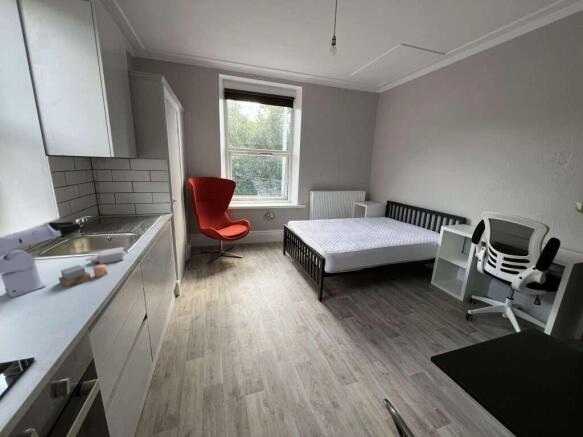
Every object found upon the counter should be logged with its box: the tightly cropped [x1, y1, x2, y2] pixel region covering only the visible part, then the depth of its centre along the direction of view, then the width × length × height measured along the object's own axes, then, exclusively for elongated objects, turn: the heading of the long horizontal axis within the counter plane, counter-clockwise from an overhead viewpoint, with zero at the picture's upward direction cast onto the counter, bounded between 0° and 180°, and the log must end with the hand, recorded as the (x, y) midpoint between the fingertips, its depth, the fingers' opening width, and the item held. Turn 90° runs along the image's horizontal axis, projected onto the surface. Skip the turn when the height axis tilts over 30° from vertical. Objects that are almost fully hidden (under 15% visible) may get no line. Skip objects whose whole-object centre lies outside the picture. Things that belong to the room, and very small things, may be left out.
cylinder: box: [92, 264, 108, 278], centre depth 106 cm, size 4×4×4 cm
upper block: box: [60, 264, 86, 281], centre depth 101 cm, size 6×6×3 cm
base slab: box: [58, 271, 92, 289], centre depth 102 cm, size 8×8×3 cm
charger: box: [85, 246, 125, 265], centre depth 121 cm, size 5×9×15 cm
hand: (76, 224), depth 107 cm, fingers open, 7 cm apart
